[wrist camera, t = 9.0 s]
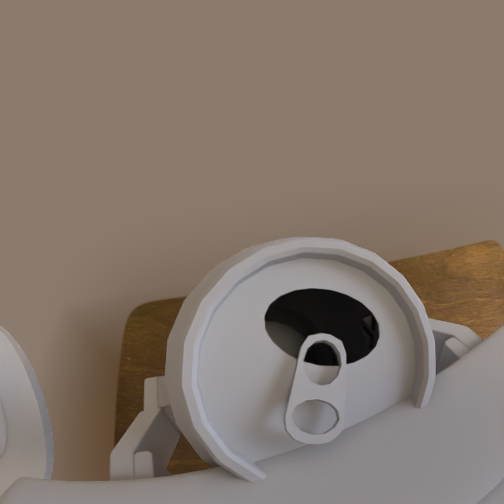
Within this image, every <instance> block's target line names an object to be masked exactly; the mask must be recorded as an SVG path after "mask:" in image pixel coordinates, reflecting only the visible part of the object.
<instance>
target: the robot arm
mask: <svg viewBox="0 0 504 504" xmlns="http://www.w3.org/2000/svg"><path fill="white" fill-rule="evenodd" d="M363 320H364V321H365V323H366V324H367V325H368V326H369V327H370V328H371V329H372V330H373V331H374V332H375V326H376V320H375V318H374V316H373V315H369V316H367V317H365V318H363ZM428 320H429V323H430V326H431V329H432V333H433V336H434V339H435V360H436V378H435V382H434V386H433V390H432V394H431V397H430V400H429V402H428V404H427V405H426V406H424V407H423V408H421V409H419V408H415V406H414V403H413V399H412V396H411V395H410V396H408V397H406V398H405V399H403V400H401V401H399V402H398V403H396V404H394V405H392V406H390V407H389V408H387V409H385V410H383V411H381V412H379V413H377V414H375V415H373V416H371V417H369V418H367V419H365V420H363V421H361V422H359V423H357V424H355V425H353V426H350V427H348V428H346V429H344V430H342V431H341V432H340V434H339V435H338V436H337V437H336V438H334V439H333V440H332V441H331V442H328V443H323V444H307V445H305V446H302V447H299V448H296V449H293V450H291V451H288V452H285V453H282V454H279V455H276V456H272V457H269V458H266V459H263V460H259V461H256V462H253V463H254V464H255V465H256V466H257V467H258V468H259V469H260V470H261V471H263V472H265V473H267V475H266V479H263V480H260V481H256V482H249V481H244V480H242V479H240V478H239V477H237V476H236V475H234V474H233V473H231V472H229V471H228V470H226V469H225V468H223V467H222V466H219V467H215V468H210V469H205V470H200V471H194V472H189V473H183V474H177V475H173V474H171V473H170V472H169V471H168V470H167V469H166V467H167V465H168V462H169V460H170V458H171V456H172V454H173V452H174V449H175V447H176V445H177V443H178V440H179V438H180V436H181V435H180V434H183V433H182V432H181V431H180V429H179V428H178V426H177V425H176V422H175V418H174V415H173V412H172V408H171V405H170V401H169V398H168V394H167V390H166V386H165V375H160V376H157V377H151V378H146V379H145V381H144V411H141V412H140V413H139V414H138V416H137V417H136V418H135V420H134V421H133V423H132V424H131V425H130V427H129V428H128V430H127V431H126V432H125V434H124V435H123V437H122V438H121V439H120V441H119V442H118V444H117V445H116V446H115V448H114V449H113V451H112V452H111V454H110V481H64V480H49V479H39V478H31V477H21V478H18V479H17V480H16V481H15V482H14V483H13V484H12V485H11V486H10V487H9V488H8V489H7V490H6V491H5V492H4V493H3V495H2V496H1V497H0V504H504V324H503V325H502V326H500V327H499V328H498V329H497V330H496V331H495V332H493V333H492V334H491V335H490V336H489V337H487V338H486V339H485V340H483V339H482V338H480V337H479V336H478V335H477V334H475V333H474V332H473V331H472V330H470V329H469V328H468V327H467V326H462V325H457V324H453V323H448V322H444V321H439V320H434V319H430V318H428ZM377 335H378V336H379V337H380V331H379V325H378V334H377ZM363 338H364V341H365V343H366V345H367V346H368V347H369V348H370V349H372V346H373V340H374V335H373V334H372V333H371V332H370V331H369V329H368V328H367V327H366V326H365V325H364V327H363ZM377 342H378V340H377ZM376 345H377V344H376ZM6 444H7V425H6V418H5V414H4V409H3V406H2V402H1V399H0V458H1V457H2V455H3V454H4V452H5V449H6Z"/></svg>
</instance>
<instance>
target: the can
mask: <svg viewBox="0 0 504 504" xmlns="http://www.w3.org/2000/svg"><path fill="white" fill-rule="evenodd" d="M369 315H373V316H374V318H375V320H376V326H375V332H374V331H373V330H372V329H371V328H370V327H369V326H368V325H367V324H366V323H365V321H364V320H363V318H365V317H367V316H369ZM364 325H365V326H366V327H367V328H368V329H369V331H370V332H371V333H372V334H373V335H374V340H373V346H372V349H370V348H369V347H368V346H367V345H366V343H365V341H364V338H363V327H364ZM378 325H379V331H380V337H379V336H378V335H377V334H378ZM377 340H378V342H377ZM376 344H377V345H376ZM435 378H436V360H435V339H434V336H433V333H432V329H431V326H430V323H429V320H428V317H427V314H426V311H425V308H424V305H423V304H422V302H421V301H420V299H419V298H418V296H417V295H416V293H415V292H414V290H413V289H412V288H411V286H410V285H409V283H408V282H407V280H406V279H405V278H404V276H403V275H402V274H401V273H399V272H398V271H397V270H396V269H394V268H393V267H392V266H391V265H389V264H388V263H387V262H385V261H384V260H383V259H382V258H380V257H379V256H378V255H377V254H375V253H374V252H371V251H369V250H366V249H363V248H361V247H359V246H356V245H353V244H351V243H348V242H346V241H343V240H340V239H331V238H316V237H302V236H301V237H297V238H284V239H280V240H276V241H272V242H267V243H263V244H259V245H254V246H251V247H247V248H246V249H244V250H242V251H241V252H239V253H237V254H236V255H234V256H232V257H231V258H229V259H227V260H225V261H224V262H222V263H220V264H219V265H217V266H215V267H214V268H212V270H211V271H210V272H209V273H208V274H207V275H206V276H205V278H204V279H203V280H202V281H201V282H200V283H199V284H198V285H197V286H196V287H195V289H194V290H193V291H192V292H191V293H190V294H189V295H188V297H187V298H186V299H185V300H184V302H183V305H182V307H181V309H180V312H179V314H178V316H177V319H176V321H175V323H174V326H173V328H172V330H171V333H170V335H169V337H168V341H167V353H166V368H165V386H166V390H167V394H168V398H169V401H170V405H171V408H172V412H173V415H174V418H175V422H176V425H177V426H178V428H179V429H180V431H181V432H182V433H183V435H184V436H185V438H186V439H187V440H188V442H189V443H190V444H191V446H192V447H193V449H194V450H195V451H196V453H197V454H198V455H199V456H200V458H201V459H202V460H203V461H204V462H206V463H207V464H209V465H210V466H212V467H213V468H215V467H219V466H222V467H223V468H225V469H226V470H228V471H229V472H231V473H233V474H234V475H236V476H237V477H239V478H240V479H242V480H244V481H249V482H256V481H260V480H263V479H266V475H267V473H265V472H263V471H261V470H260V469H259V468H258V467H257V466H256V465H255V464H254V463H253V462H256V461H259V460H263V459H266V458H269V457H272V456H276V455H279V454H282V453H285V452H288V451H291V450H293V449H296V448H299V447H302V446H305V445H307V444H323V443H328V442H331V441H332V440H333V439H334V438H336V437H337V436H338V435H339V434H340V432H341V431H342V430H344V429H346V428H348V427H350V426H353V425H355V424H357V423H359V422H361V421H363V420H365V419H367V418H369V417H371V416H373V415H375V414H377V413H379V412H381V411H383V410H385V409H387V408H389V407H390V406H392V405H394V404H396V403H398V402H399V401H401V400H403V399H405V398H406V397H408V396H410V395H411V396H412V399H413V403H414V406H415V408H419V409H421V408H423V407H424V406H426V405H427V404H428V402H429V400H430V397H431V394H432V390H433V386H434V382H435Z"/></svg>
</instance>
